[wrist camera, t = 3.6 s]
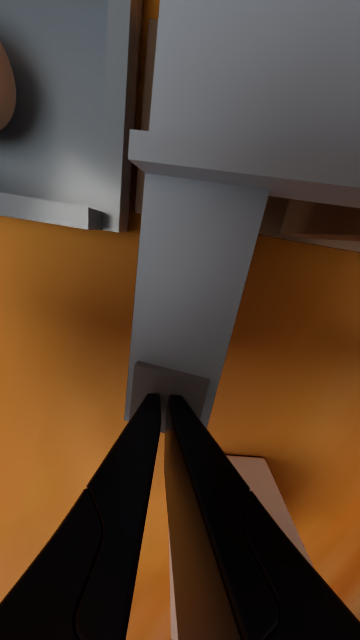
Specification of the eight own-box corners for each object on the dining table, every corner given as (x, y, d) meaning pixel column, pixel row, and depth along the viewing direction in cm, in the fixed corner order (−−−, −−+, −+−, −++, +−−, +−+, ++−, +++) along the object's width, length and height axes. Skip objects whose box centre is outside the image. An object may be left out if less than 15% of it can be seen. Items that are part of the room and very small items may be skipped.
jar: (219, 530, 20) (288, 893, 9) (148, 499, 18) (126, 941, 7) (295, 476, 18) (504, 863, 7) (227, 433, 16) (381, 915, 5)
